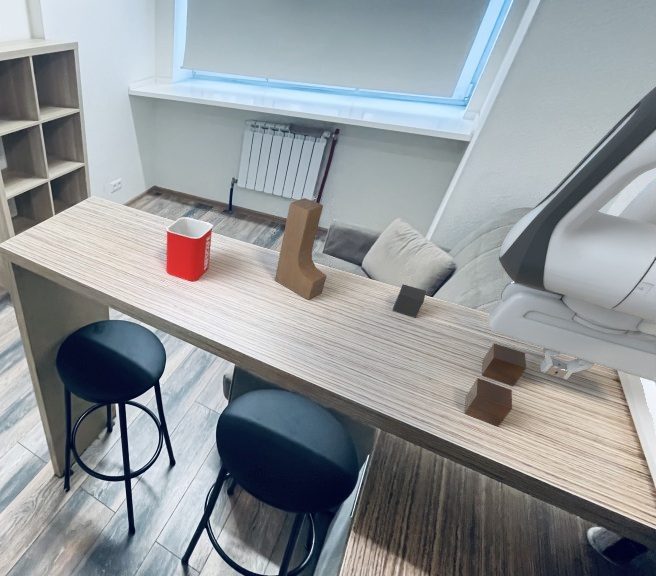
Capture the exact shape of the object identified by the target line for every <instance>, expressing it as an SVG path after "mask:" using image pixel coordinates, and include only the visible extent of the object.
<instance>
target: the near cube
mask: <svg viewBox="0 0 656 576" xmlns="http://www.w3.org/2000/svg"><path fill="white" fill-rule="evenodd" d="M512 410H513V389H511V388H507V387H505V386H502V385H499V384H496V383H494V382H491V381H488V380H485V379H483V378H480V377H477V379H476V380H475V382H474V383H473V385H472V386H471V388H470V389H469V391H468V392H467V394H466V395H465V402H464V415H467V416H469V417H472V418H474V419H477V420H479V421H482V422H484V423H487V424H489V425H492V426H495V427H497V428H498V427H500V425H501V424H502V422H503V421H504V420H505V419H506V417H507V416H508V415H509V413H511V411H512Z"/></svg>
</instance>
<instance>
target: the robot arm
mask: <svg viewBox="0 0 656 576" xmlns="http://www.w3.org/2000/svg"><path fill="white" fill-rule="evenodd" d="M653 169H656V86H654V88H652V89H651V90H650V91H649V92H647V94H645V95H644V96H643V97H642V98H641V99H640V100H639V101H637V103H636V104H635V105H634V106H633V107H632V108H631V109H630V110H629V111H628V112H627V113H626V114H625V115H624V116H623V117H622V118H621V119H620V120H618V122H617V123H616V124H614V126H613V127H612V128H611V129H609V130H608V132H607V133H606V134H605V135H604V136H603V137H602V138H601V139H600V140H599V141H598V142H597V143H596V144H595V145H594V146H593V147H592V148H591V150H589V152H587V154H586V155H585V156H584V157H583V158H582V159H581V160H580V161H578V163H577V164H576V165H575V166H574V167H573V168H572V170H570V172H568V173H567V175H566V176H565V177H564V178H563V179H562V180H561V181H560V182H559V183H558V184H557V185H556V186H555V187H554V188H553V189H552V191H550V192H549V193H548V195H547V196H546V197H544V198H543V199H542V200H541V201H540V202H539V203H538V204H537V205H535V206H534V207H533V208H532V210H531V211H529V212H528V213H527V214H525V215H523V217H521V218H520V219H519V220H518V221H517V222H516V223H515V224H514V225H513V226H512V227H511V228H510V230H509V231H508V233H507V234H506V235H505V237H504V239H503V242H502V244H501V246H500V250H499V257H498V261H499V263H500V265H501V267H502V268H503V270H504V272H505V273H506V274H507V276H508V277H509V278H510V279H511V280H512V281H509V282H508V283H506V285H505V286H504V288H503V289H502V291H501V293H500V299H499V301H497V303H496V304H495V305H494V307H493V308H492V309H491V310H490V312H489V314H488V317H487V326H488V329H489V330H490V331H491V332H492V333H493V334H497V335H501V336H504V337H507V338H509V339H513V340H517V341H520V342H523V343H527V344H529V345H533V346H536V347H539V348H542V349H543V355H544V359H543V361H542V362H541V364H540V366H539V368H540V369H539V370H540V372H541V373H545V374H546V375H547V374H548V375H550V376H553V377H557V378H560V379H563V380H568V379H569V378H570V376H572V374H573V373H575V374H576V373H578V372H582V371H585V370H589V369H592V367H593V366H594V365H595V364H596V365H599V366H602V367H605V368H608V369H611V370H615V371H619V372H621V373H625V374H628V375H632V376H633V377H638V378H641V379H645V380H648V381H651V382H654V383H656V177H655V178H654V179H653V180H651V181H650V182H649V183H648V184H647V185H645V187H644V188H643V189H642V190H641V191H640V192H639V193H638V194H637V195H635V196H634V198H633V199H632V200H631V201H630V202H629V203H628V204H627V205H626V207H624V209H623V210H622V211H621V212H620V213H619V215H618V216H617V215H614V214H613V215H612V214H608V213H605V212H601V211H600V210H601V209H603V208H604V207H605V206H606V205H607V204H608V203H609V202H611V200H613V199H614V198H615V197H616V196H617V195H619V193H621V192H622V191H623V190H624V189H625V188H627V187H628V186H629V185H630V184H631V183H632V182H633V181H635V180H636V179H637V178H638V177H640V176H641V175H643V174H645V173H646V172H649V171H651V170H653ZM560 354H562V355H566V356H569V357H572V358H575V359H572V360H569V361H568V362H563V361H560V360H556V359H553V357H555V358H557V357H559V355H560Z"/></svg>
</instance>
